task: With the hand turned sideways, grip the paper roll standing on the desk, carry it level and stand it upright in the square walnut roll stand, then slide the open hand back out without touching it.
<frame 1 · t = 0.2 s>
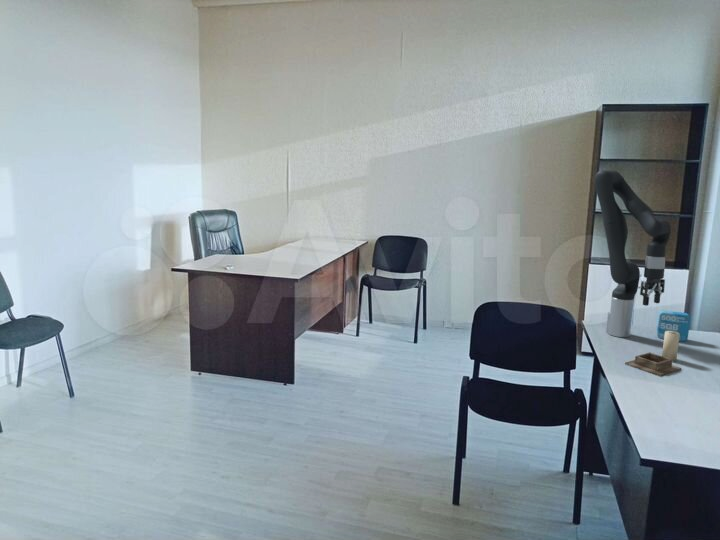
hand: (651, 304, 240), 17 cm above the table, tool pointing down, fingers open, 8 cm apart
data package: (671, 339, 250), on the table
paper roll: (668, 359, 224), on the table
roll stand: (652, 366, 215), on the table
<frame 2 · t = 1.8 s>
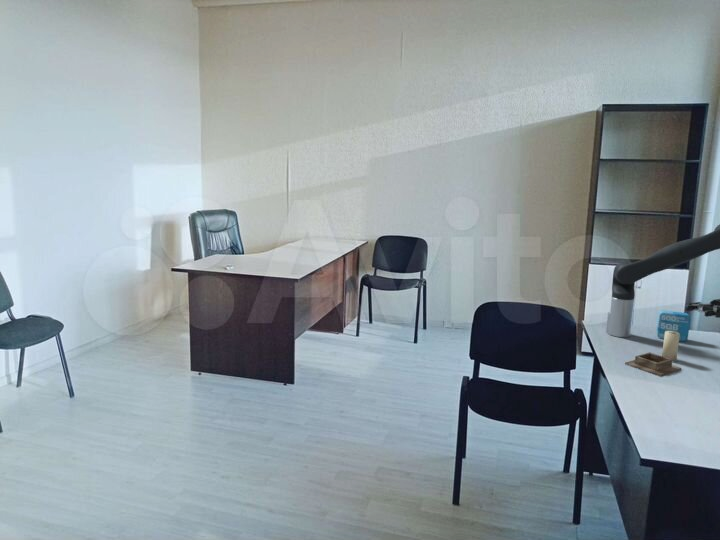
hand: (695, 311, 224), 19 cm above the table, tool horizontal, fingers open, 8 cm apart
nothing on the table moved.
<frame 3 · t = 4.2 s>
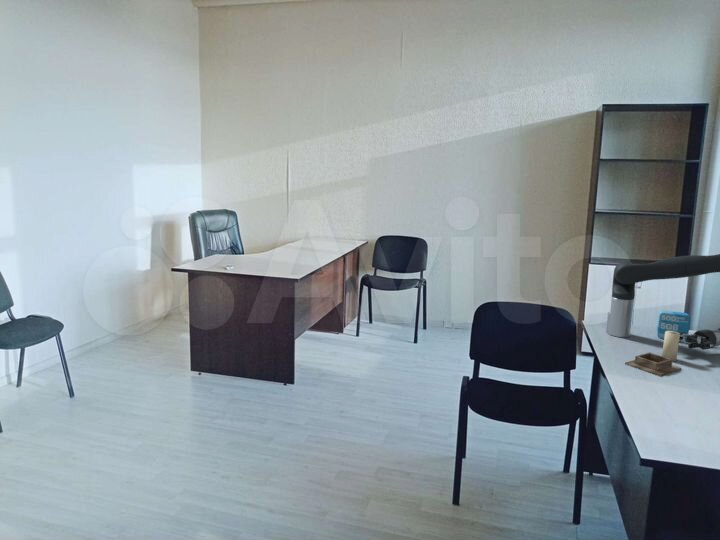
hand: (679, 342, 224), 7 cm above the table, tool horizontal, fingers open, 8 cm apart
nothing on the table moved.
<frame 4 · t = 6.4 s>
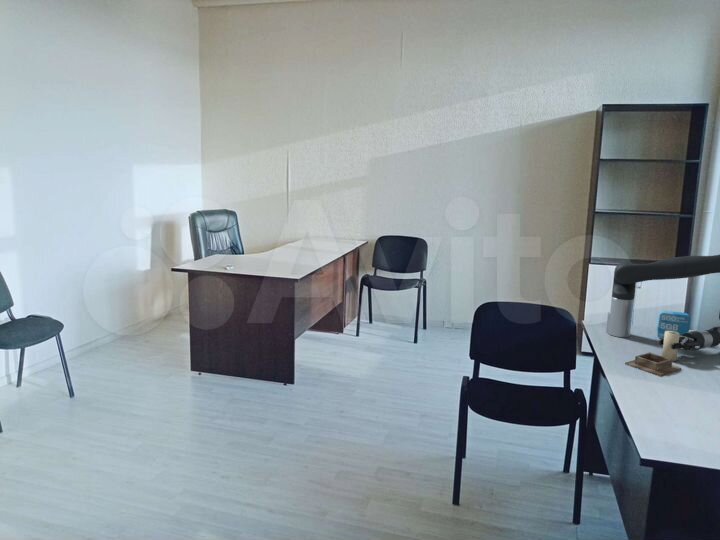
hand: (666, 344, 222), 7 cm above the table, tool horizontal, fingers closed on paper roll, 5 cm apart
paper roll: (668, 359, 224), on the table, touching gripper
everything else where it was.
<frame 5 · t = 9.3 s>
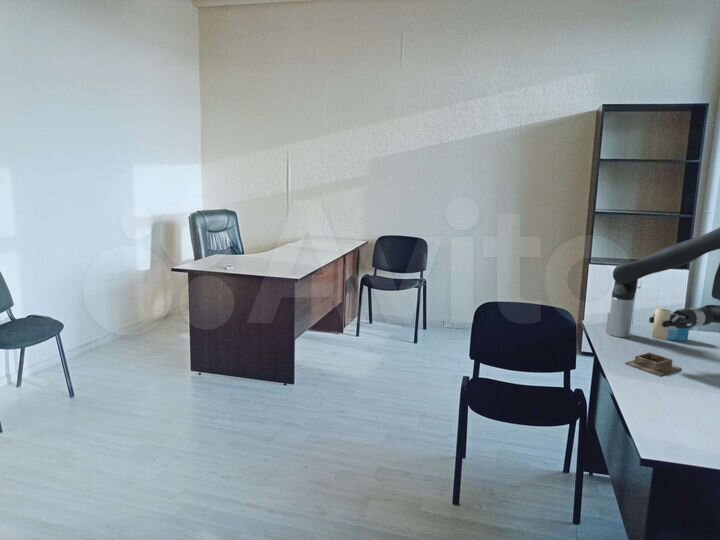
hand: (656, 322, 212), 18 cm above the table, tool horizontal, fingers closed on paper roll, 5 cm apart
paper roll: (659, 337, 214), point 11 cm above the table, touching gripper
everything else where it was.
when the fingers open (9 cm above the table, at t = 12.0 s): paper roll drops 2 cm, resting on roll stand.
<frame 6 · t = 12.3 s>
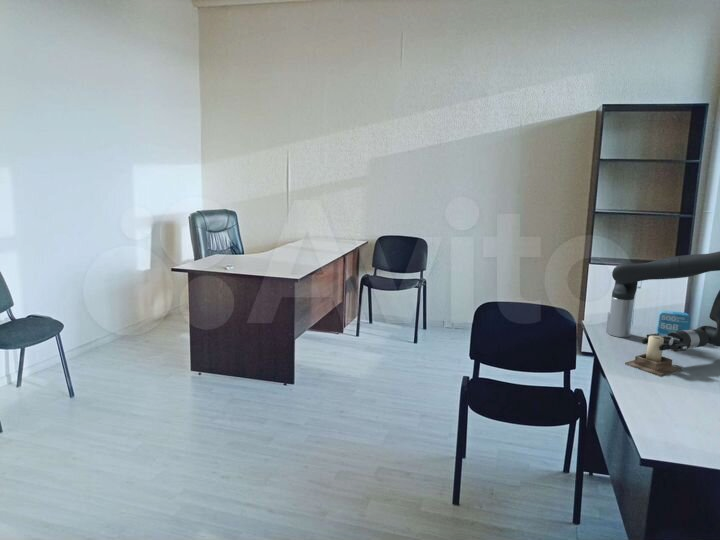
hand: (651, 344, 213), 9 cm above the table, tool horizontal, fingers open, 7 cm apart
paper roll: (652, 365, 215), point 1 cm above the table, touching roll stand
everything else where it was.
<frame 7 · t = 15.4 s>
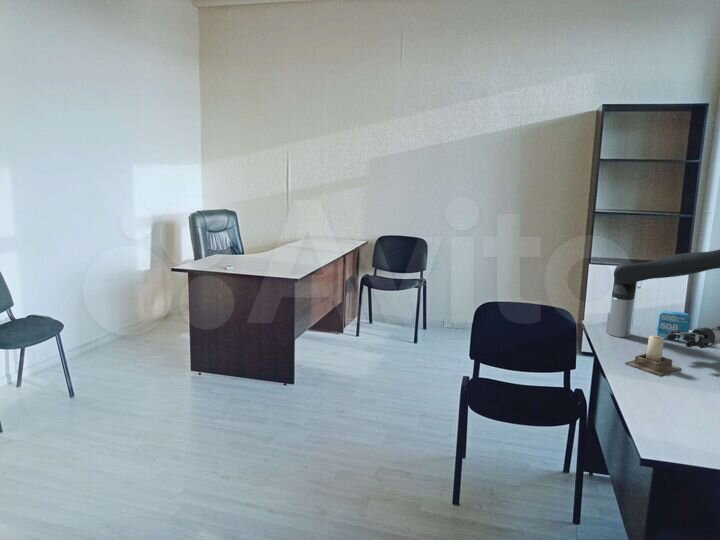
hand: (677, 340, 217), 9 cm above the table, tool horizontal, fingers open, 8 cm apart
nothing on the table moved.
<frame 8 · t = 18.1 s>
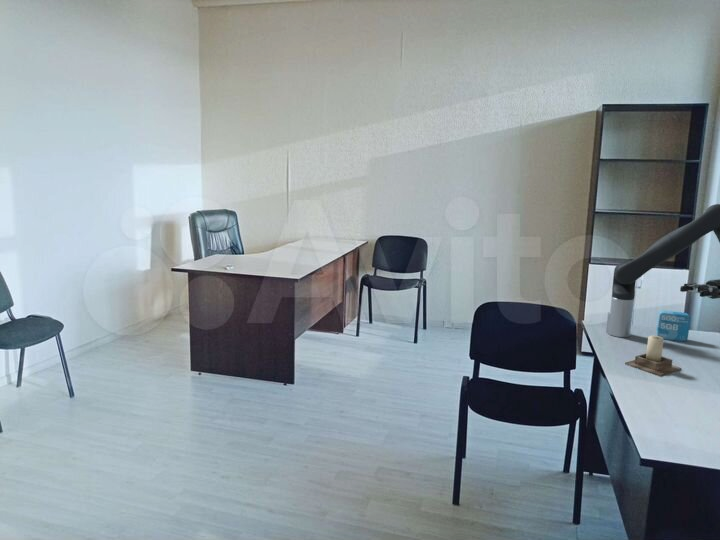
hand: (690, 291, 218), 28 cm above the table, tool horizontal, fingers open, 8 cm apart
nothing on the table moved.
at the end: paper roll 0.2 cm off-centre on the roll stand, point 0.7 cm above the roll stand's base; paper roll tilted 2°; the gripper is holding nothing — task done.
